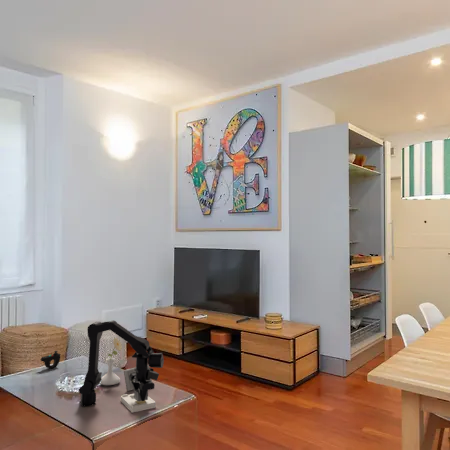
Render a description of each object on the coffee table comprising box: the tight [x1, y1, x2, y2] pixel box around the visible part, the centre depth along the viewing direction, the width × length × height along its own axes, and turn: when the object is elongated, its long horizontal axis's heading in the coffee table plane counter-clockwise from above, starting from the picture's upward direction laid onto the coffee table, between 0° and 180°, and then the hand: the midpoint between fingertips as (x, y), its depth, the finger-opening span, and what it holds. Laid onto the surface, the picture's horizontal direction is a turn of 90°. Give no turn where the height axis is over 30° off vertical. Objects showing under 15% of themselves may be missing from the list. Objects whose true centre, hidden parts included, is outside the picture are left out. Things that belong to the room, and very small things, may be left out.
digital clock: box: [123, 365, 153, 392], centre depth 231 cm, size 16×9×11 cm, turn 122°
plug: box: [133, 389, 149, 404], centre depth 203 cm, size 5×5×7 cm
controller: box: [40, 350, 62, 370], centre depth 260 cm, size 4×12×10 cm, turn 145°
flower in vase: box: [100, 337, 123, 386], centre depth 236 cm, size 13×11×25 cm
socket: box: [120, 393, 157, 413], centre depth 206 cm, size 12×16×3 cm
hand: (140, 399), depth 203 cm, fingers closed on plug, 5 cm apart
